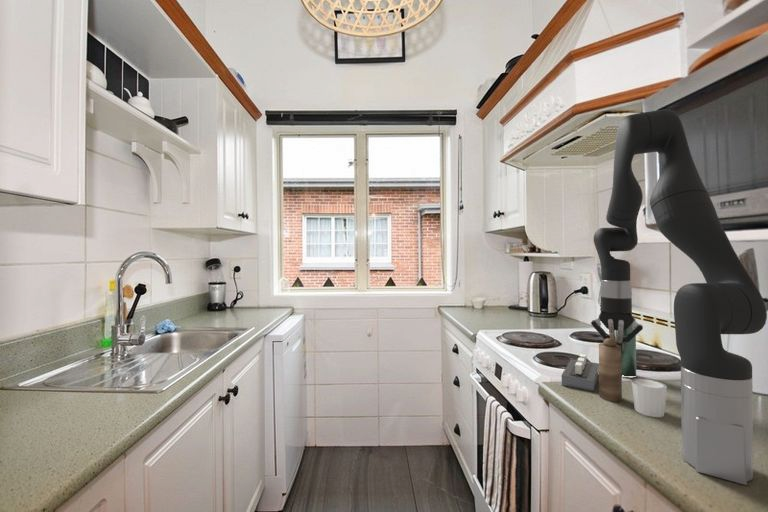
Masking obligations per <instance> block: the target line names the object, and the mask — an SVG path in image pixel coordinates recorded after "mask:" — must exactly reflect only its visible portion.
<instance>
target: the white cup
mask: <svg viewBox="0 0 768 512" xmlns="http://www.w3.org/2000/svg"><path fill="white" fill-rule="evenodd" d="M630 382H631V388H632V389H631V390H632V399H633V405H634V406H633V407H634V410H635V411H636V412H637V413H639V414H641V415H644V416H647V417H652V418H663V417H664V416H665V411H666V410H665V409H666V402H667V401H666V399H667V392H668V386H667V385H666V384H665V383H662V382H660V381H657V380H653V379H648V378H631V381H630Z"/></svg>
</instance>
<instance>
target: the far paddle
mask: <svg viewBox="0 0 768 512" xmlns="http://www.w3.org/2000/svg"><path fill="white" fill-rule="evenodd" d="M587 356H588V355H587V353H586V354H585V353H580V354H579V358H585V365H586V363H587V362H588V361H587Z"/></svg>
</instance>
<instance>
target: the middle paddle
mask: <svg viewBox="0 0 768 512" xmlns="http://www.w3.org/2000/svg"><path fill="white" fill-rule="evenodd" d="M576 360H577V362H580V363H583V370H584V367H585V358H580V357H578V358H577V359H576Z"/></svg>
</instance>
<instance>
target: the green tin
mask: <svg viewBox="0 0 768 512" xmlns="http://www.w3.org/2000/svg"><path fill="white" fill-rule="evenodd" d="M632 316H633V317H634V321H635V322H637V321H636V318H635V316H634V315H632ZM632 326H633V324H631V325H630V326H629V327H628V328H627V329H626V330H625V331H623V337H625V336H627V335H628V334H629V333H630V332H631V331H632V330H633V329H632ZM617 337H618V331H617V330H615V341H617ZM621 367H622V375H624V376H636V377H637V335H636V336H635V337H634V338H632V339H631V340H630V341H629V342H623V343H622V354H621Z"/></svg>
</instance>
